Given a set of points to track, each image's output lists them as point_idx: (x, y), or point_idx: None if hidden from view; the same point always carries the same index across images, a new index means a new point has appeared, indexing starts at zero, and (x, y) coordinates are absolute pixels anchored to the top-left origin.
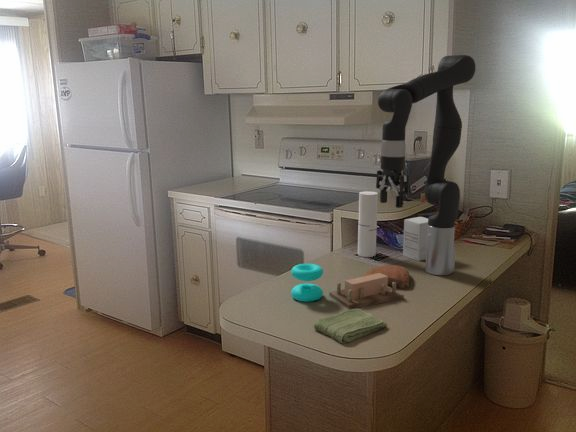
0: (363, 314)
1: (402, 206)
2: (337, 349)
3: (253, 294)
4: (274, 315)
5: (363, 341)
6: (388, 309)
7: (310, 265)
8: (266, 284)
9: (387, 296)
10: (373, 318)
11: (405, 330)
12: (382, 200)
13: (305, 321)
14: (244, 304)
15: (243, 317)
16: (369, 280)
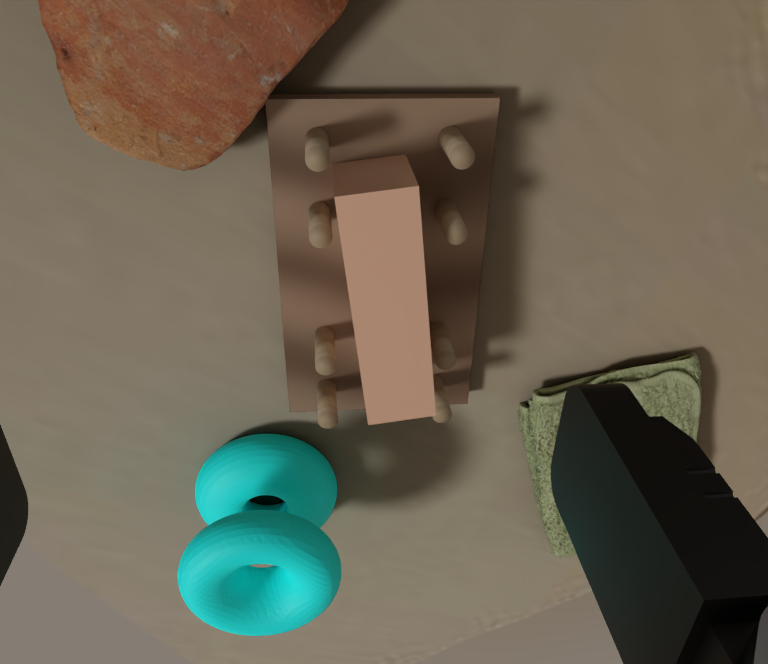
0: None
1: (621, 383)
2: None
3: (168, 611)
4: (386, 598)
5: (710, 457)
6: (562, 251)
7: (227, 572)
8: (63, 558)
9: (473, 199)
10: (658, 401)
11: (757, 303)
12: (5, 541)
13: (479, 542)
14: (255, 643)
15: (358, 658)
16: (427, 320)
